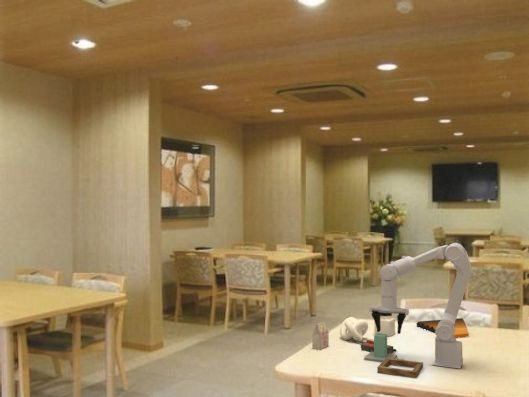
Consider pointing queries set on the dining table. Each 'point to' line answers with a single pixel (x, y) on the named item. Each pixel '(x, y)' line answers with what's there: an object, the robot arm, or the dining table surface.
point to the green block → (380, 345)
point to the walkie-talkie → (369, 346)
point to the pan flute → (431, 325)
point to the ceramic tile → (371, 357)
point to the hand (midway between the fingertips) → (388, 332)
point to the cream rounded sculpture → (353, 329)
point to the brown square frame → (413, 373)
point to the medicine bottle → (386, 325)
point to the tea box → (320, 337)
